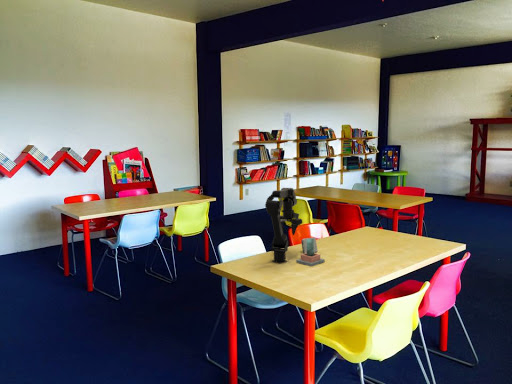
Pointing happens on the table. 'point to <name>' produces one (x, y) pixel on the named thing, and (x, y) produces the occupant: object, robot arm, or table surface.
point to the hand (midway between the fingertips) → (287, 233)
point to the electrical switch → (304, 243)
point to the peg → (310, 247)
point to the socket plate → (310, 259)
